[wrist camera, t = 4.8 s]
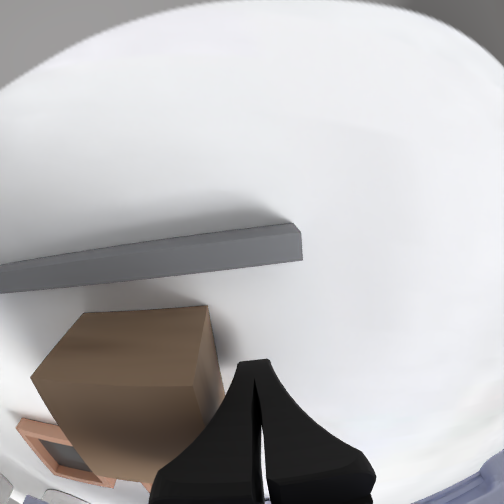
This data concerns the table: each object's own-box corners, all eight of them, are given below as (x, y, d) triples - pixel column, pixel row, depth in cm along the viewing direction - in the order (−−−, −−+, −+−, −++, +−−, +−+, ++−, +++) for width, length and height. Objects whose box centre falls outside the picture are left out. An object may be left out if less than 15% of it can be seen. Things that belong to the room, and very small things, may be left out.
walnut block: (227, 406, 14) (225, 486, 10) (121, 406, 14) (95, 475, 10) (207, 305, 13) (192, 385, 8) (83, 312, 12) (30, 377, 8)
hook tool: (303, 421, 15) (311, 455, 13) (-29, 399, 15) (-42, 415, 12) (293, 223, 12) (307, 239, 9) (-83, 280, 12) (-103, 293, 9)
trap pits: (232, 482, 17) (232, 495, 16) (58, 465, 17) (54, 474, 16) (215, 435, 15) (214, 451, 14) (22, 417, 15) (15, 427, 14)
